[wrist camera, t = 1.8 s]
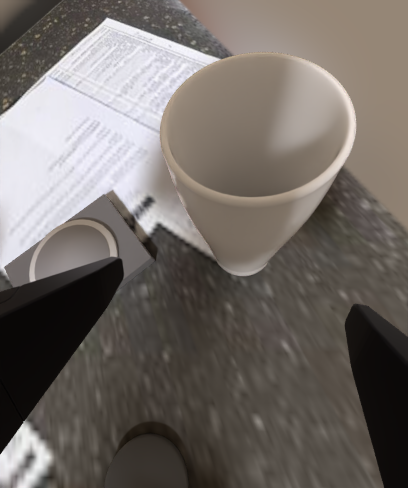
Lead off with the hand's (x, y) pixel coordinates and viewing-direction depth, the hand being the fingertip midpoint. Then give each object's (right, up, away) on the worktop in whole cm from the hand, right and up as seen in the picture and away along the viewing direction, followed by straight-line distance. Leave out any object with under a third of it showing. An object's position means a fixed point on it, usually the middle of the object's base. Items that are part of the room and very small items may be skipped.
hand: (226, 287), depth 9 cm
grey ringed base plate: (-13, 0, +14) cm, 19 cm away
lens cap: (-5, -16, +8) cm, 18 cm away
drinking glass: (+3, +1, +13) cm, 13 cm away
